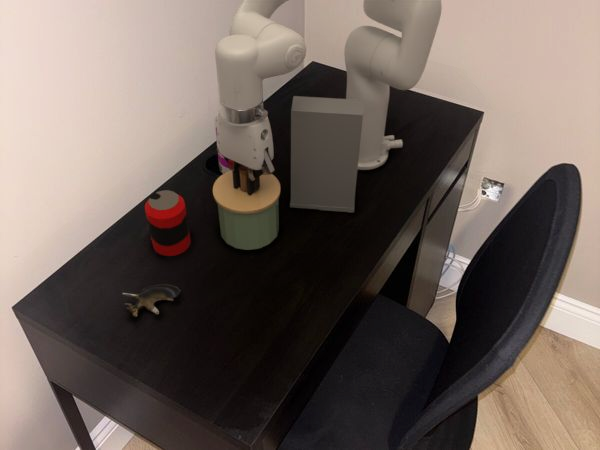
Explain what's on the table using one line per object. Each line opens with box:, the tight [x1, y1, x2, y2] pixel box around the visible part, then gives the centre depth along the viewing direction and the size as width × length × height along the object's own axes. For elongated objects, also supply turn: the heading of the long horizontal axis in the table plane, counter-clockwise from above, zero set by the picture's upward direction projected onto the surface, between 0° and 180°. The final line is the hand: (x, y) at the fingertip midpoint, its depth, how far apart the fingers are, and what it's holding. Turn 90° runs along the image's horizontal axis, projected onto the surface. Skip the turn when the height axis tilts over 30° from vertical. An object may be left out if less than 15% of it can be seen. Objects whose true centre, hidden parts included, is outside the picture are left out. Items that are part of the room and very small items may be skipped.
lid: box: [212, 165, 281, 214], centre depth 116 cm, size 13×13×6 cm
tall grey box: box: [289, 95, 363, 213], centre depth 124 cm, size 14×6×25 cm, turn 85°
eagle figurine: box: [122, 283, 182, 318], centre depth 109 cm, size 8×7×9 cm
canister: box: [216, 199, 280, 251], centre depth 122 cm, size 12×12×10 cm
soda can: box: [144, 189, 192, 257], centre depth 119 cm, size 8×8×12 cm
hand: (246, 187), depth 118 cm, fingers closed on lid, 2 cm apart
